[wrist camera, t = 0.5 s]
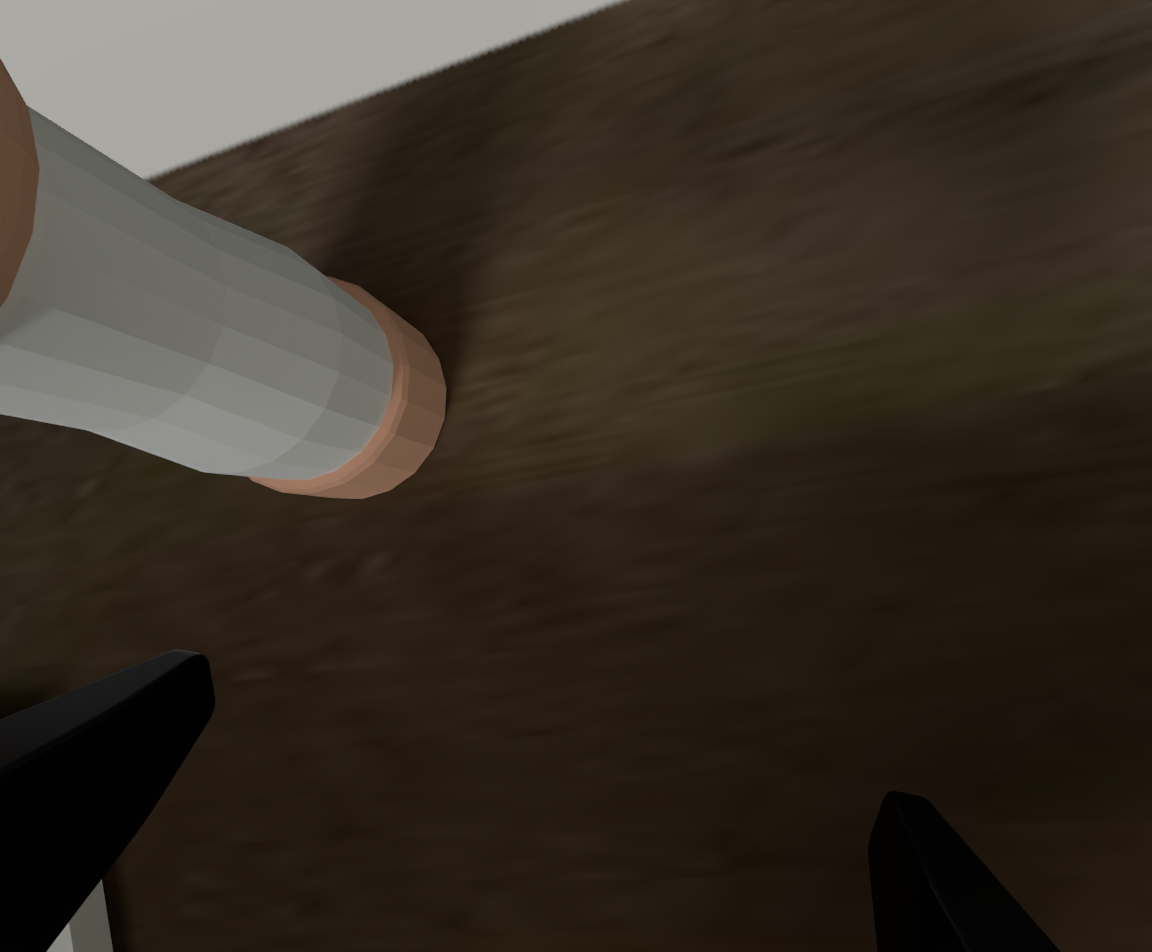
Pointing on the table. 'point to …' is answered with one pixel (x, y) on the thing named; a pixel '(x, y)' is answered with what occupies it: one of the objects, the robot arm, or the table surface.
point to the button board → (87, 927)
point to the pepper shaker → (195, 330)
